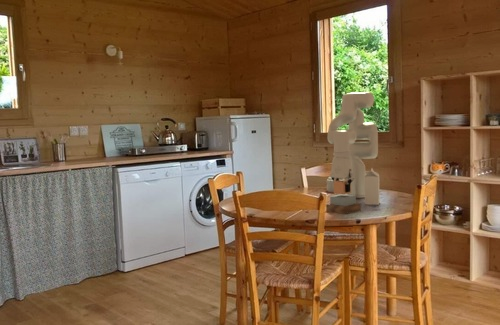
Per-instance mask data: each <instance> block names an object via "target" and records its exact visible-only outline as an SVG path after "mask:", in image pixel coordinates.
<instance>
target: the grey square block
mask: <svg viewBox="0 0 500 325" xmlns="http://www.w3.org/2000/svg"><path fill="white" fill-rule="evenodd" d="M329 199H330V200H329V202H330V203H329V204H333V205H340V206H348V205H352V204H356V203H357V198H356V196H355V195H347V194H334V195H330V196H329Z"/></svg>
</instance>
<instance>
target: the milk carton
mask: <svg viewBox="0 0 500 325" xmlns="http://www.w3.org/2000/svg"><path fill="white" fill-rule="evenodd" d="M364 183H365V198H364V205H372V206H373V205H374V206H375V205H376V206H377V205H378V206H379V205H380V198H381V197H380V174H379V173H378V172H376V171H375V170H374V169H373V167H371V169H370V170H366V175H365V177H364Z"/></svg>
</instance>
